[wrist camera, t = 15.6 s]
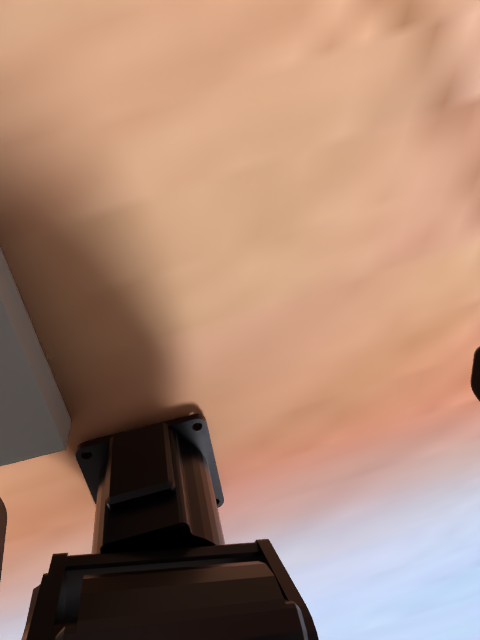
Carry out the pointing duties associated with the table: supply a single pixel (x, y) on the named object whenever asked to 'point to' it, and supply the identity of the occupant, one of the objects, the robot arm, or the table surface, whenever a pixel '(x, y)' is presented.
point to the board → (26, 384)
